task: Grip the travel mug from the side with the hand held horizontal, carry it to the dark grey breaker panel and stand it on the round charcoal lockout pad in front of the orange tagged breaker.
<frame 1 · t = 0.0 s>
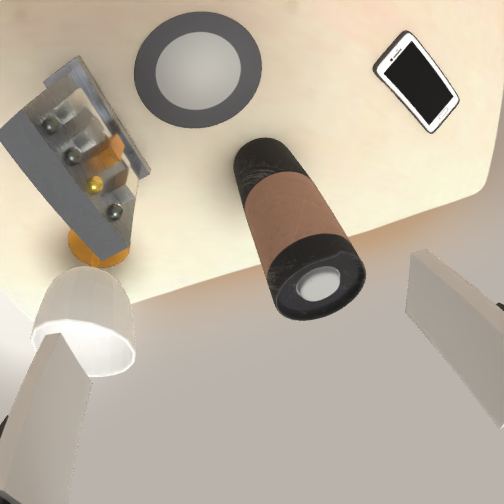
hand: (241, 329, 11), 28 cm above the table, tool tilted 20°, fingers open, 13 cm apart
travel mug: (262, 163, 38), on the table
cup: (99, 242, 41), on the table
cell phone: (417, 83, 34), on the table
breaker panel: (98, 124, 30), on the table
lockout pad: (198, 70, 29), on the table
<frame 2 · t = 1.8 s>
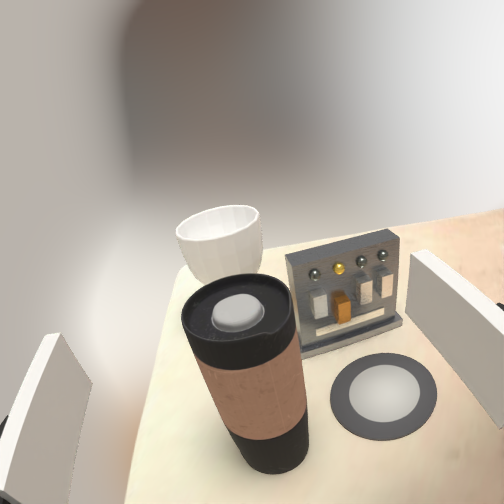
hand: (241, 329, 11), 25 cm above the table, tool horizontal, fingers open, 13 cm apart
travel mug: (275, 447, 30), on the table
cup: (241, 319, 52), on the table
breaker panel: (346, 333, 44), on the table
lockout pad: (384, 394, 33), on the table
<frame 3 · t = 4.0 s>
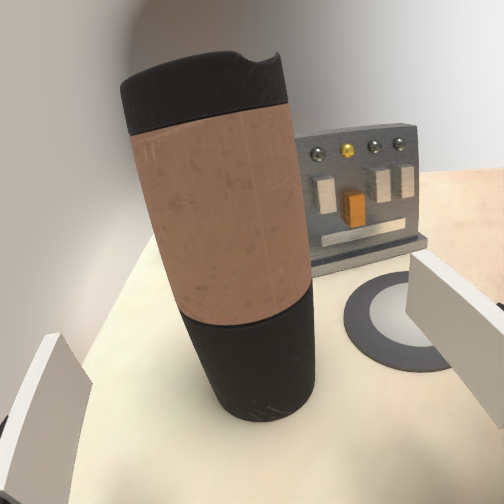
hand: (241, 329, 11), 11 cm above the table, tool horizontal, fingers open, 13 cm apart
travel mug: (265, 384, 22), on the table
breaker panel: (360, 254, 35), on the table
lockout pad: (417, 314, 25), on the table
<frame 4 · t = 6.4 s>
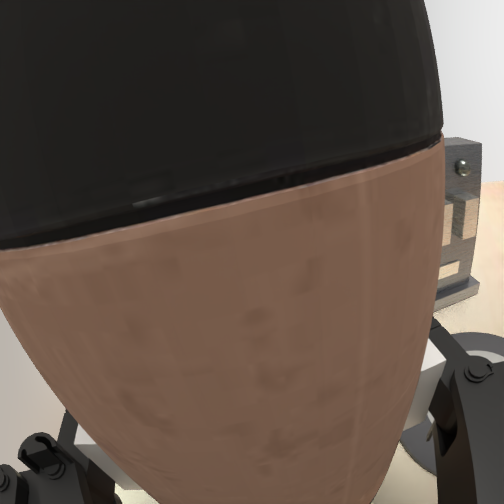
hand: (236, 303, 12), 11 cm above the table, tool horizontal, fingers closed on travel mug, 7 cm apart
breaker panel: (401, 305, 26), on the table
lockout pad: (479, 399, 16), on the table
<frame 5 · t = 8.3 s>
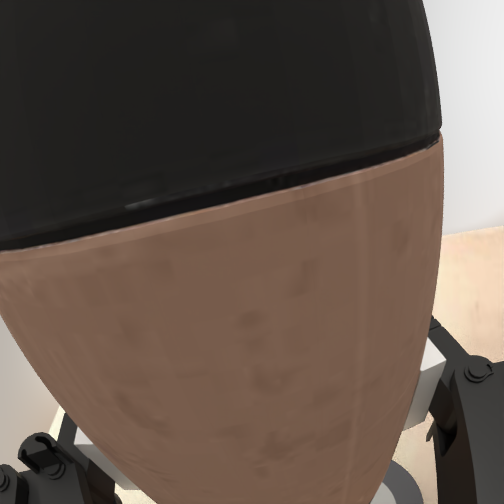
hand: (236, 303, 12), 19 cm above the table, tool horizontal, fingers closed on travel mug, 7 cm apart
when the fingers open (12 cm above the table, at t = 10.4 s): travel mug stays where it is, resting on lockout pad.
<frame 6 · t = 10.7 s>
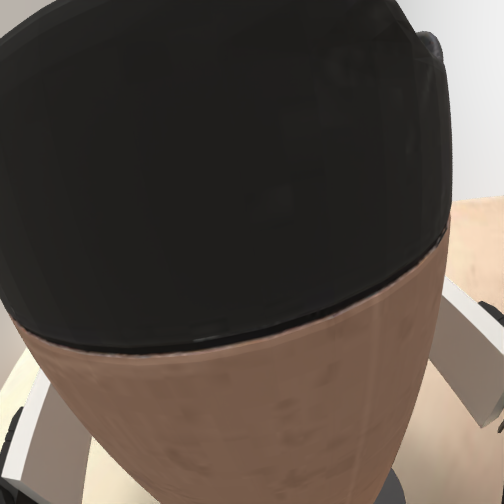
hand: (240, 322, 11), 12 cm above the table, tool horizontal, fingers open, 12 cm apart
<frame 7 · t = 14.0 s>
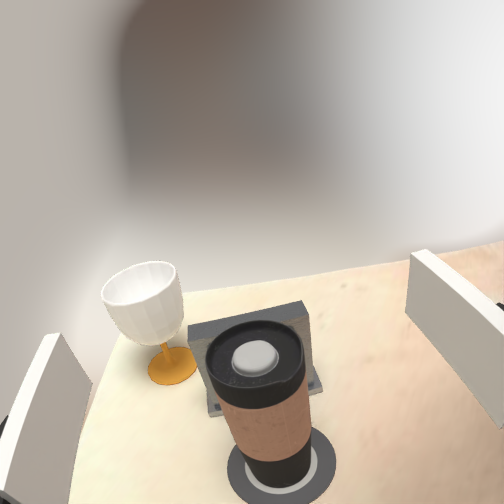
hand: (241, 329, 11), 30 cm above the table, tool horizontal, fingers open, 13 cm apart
travel mug: (281, 464, 32), resting on lockout pad
cup: (173, 366, 51), on the table
breaker panel: (263, 394, 43), on the table
lockout pad: (281, 464, 32), on the table
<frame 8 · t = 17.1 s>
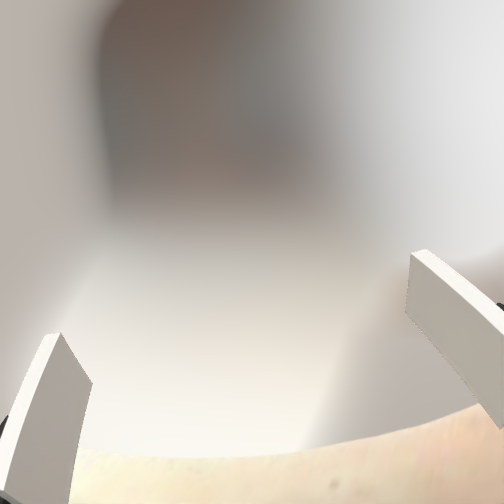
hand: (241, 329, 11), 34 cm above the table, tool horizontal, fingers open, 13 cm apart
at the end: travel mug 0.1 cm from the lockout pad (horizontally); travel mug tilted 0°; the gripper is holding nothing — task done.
